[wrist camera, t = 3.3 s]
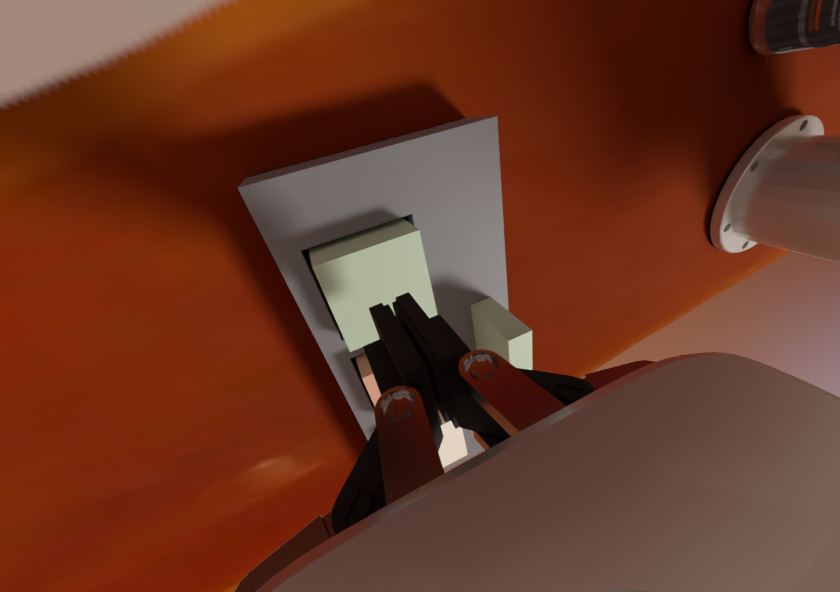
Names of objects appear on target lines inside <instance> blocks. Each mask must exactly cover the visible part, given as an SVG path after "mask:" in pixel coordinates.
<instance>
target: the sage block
mask: <svg viewBox="0 0 840 592" xmlns="http://www.w3.org/2000/svg"><path fill="white" fill-rule="evenodd" d="M308 250H309V255H310V260H311V264H312V268H313V270H314V273H315V275H316V277H317V279H318V282H319V284H320V286H321V288H322V290H323V293H324V295H325V297H326V299H327V302H328V304H329V306H330V308H331V311H332V313H333V315H334V317H335V319H336V322H337V324H338V326H339V328H340V331H341V333H342V335H343V337H344V339H345V342H346V344H347V346H348V348H349V351H350V352H352V351H354V350H357V349H359V348H361V347H363V346H365V345H367V344H370V343H372V342H374V341H377V340H379V339H380V338H379V335H378V333H377V330H376V327H375V324H374V322H373V319H372V316H371V314H370V311H369V308H370V307H372V306H375V305H377V304H380V303H382V304H383V305H384V306H385V305H387V304H389V306H390V308H391V309H392V311H393V312H394V309H393V305H392V302H395V301H396V297H397V296H400V295H402V294H405V293H408V292H409V293H410V294H411V296H412V297H413V298H414V299H415V301H416V302H417V303H418V304H419V306H420V307H421V308H422V309H423V311H424V312H425V313H426V315H427V316H428V317H429V318H431V317H434V316H436V315H438V314H437V310H436V305H435V300H434V296H433V291H432V287H431V282H430V277H429V273H428V268H427V263H426V259H425V254H424V250H423V245H422V240H421V236H420V231H419V229H417V228H416V227H415V226H413V225H412V224H410V223H409V222H408V221H406V220H405V219H404V218H402V217H401V218H398V219H395V220H392V221H389V222H386V223H383V224H380V225H377V226H374V227H371V228H368V229H365V230H362V231H359V232H356V233H353V234H350V235H347V236H344V237H341V238H338V239H335V240H332V241H329V242H325V243H322V244H319V245H316V246H313V247H310V248H308ZM394 314H395V312H394ZM395 316H396V315H395Z"/></svg>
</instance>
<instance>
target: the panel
mask: <svg viewBox="0 0 840 592" xmlns="http://www.w3.org/2000/svg"><path fill="white" fill-rule="evenodd" d="M238 190H239V192H240V194H241V196H242V198H243V200H244V202H245V204H246V206H247V208H248V210H249V212H250V214H251V215H252V217H253V219H254V221H255V223H256V225H257V227H258V229H259V231H260V233H261V235H262V237H263V239H264V241H265V243H266V244H267V246H268V248H269V250H270V252H271V254H272V256H273V258H274V260H275V262H276V264H277V266H278V268H279V270H280V272H281V274H282V275H283V277H284V279H285V281H286V283H287V285H288V287H289V289H290V291H291V293H292V295H293V297H294V299H295V301H296V303H297V304H298V306H299V308H300V310H301V312H302V314H303V316H304V318H305V320H306V322H307V324H308V326H309V328H310V330H311V332H312V334H313V335H314V337H315V339H316V341H317V343H318V345H319V347H320V349H321V351H322V353H323V355H324V357H325V359H326V361H327V363H328V364H329V366H330V368H331V370H332V372H333V374H334V376H335V378H336V380H337V382H338V384H339V386H340V388H341V390H342V392H343V394H344V395H345V397H346V399H347V401H348V403H349V405H350V407H351V409H352V411H353V413H354V415H355V417H356V419H357V421H358V423H359V424H360V426H361V428H362V430H363V432H364V434H365V436H366V438H367V440H369V439H370V437H371V435H372V433H373V431H374V429H375V428H376V422H375V414H374V411H375V406H374V404H373V402H372V400H371V397H370V395H369V393H368V391H367V388H366V386H365V384H364V382H363V379H362V377H361V373H360V370H359V368H358V366H357V364H356V361H355V359H354V357H355V356H358V355H360V354H363V353H365V351H364V348H363V347H361V348H359V349H357V350H354V351H352V352H350V351H349V348H348V346H347V344H346V342H345V339H344V337H343V335H342V333H341V331H340V328H339V326H338V324H337V322H336V319H335V317H334V315H333V313H332V311H331V308H330V306H329V304H328V302H327V299H326V297H325V295H324V293H323V290H322V288H321V286H320V284H319V282H318V279H317V277H316V275H315V273H314V270H313V268H312V264H311V260H310V258H309V256H308V254H307V252H306V249H307V248H310V247H313V246H316V245H319V244H322V243H325V242H329V241H332V240H335V239H338V238H341V237H344V236H347V235H350V234H353V233H356V232H359V231H362V230H365V229H368V228H371V227H374V226H377V225H380V224H383V223H386V222H389V221H392V220H395V219H398V218H401V217H402V218H404V219H405V220H406V221H408V222H409V223H410V224H412V225H413V226H415V227H416V228H417V229H419V231H420V236H421V240H422V245H423V250H424V254H425V259H426V263H427V268H428V273H429V277H430V282H431V287H432V291H433V296H434V300H435V305H436V310H437V314H439V315H441V316H442V317H443V319H444V320H445V321H446V322H447V323H448V324H449V325H450V327H451V328H452V329H453V330H454V331H455V332H456V334H457V335H458V336H459V337H460V338H461V339H462V340H463V342H464V343H465V344H466V345H467V346H468V347H469V349H470V350H471V351H474V350H479V349H483V350H490V351H493V352H495V353H497V354H499V355H500V356H501V357H503V358H504V359H505V360H506V361H508V362H509V363H510V364H512V365H513V366H514V367H516V368H521V369H528V370H532V330H531V329H530V328H529V327H527V326H526V325H525V324H524V323H522V322H521V321H520V320H519V319H517V318H516V317H515V316H514V315H512V314H511V313H510V312H509V311H508V293H507V276H506V259H505V242H504V224H503V207H502V190H501V173H500V155H499V138H498V121H497V116H492V117H476V118H465V119H461V120H458V121H454V122H450V123H447V124H443V125H439V126H436V127H432V128H428V129H425V130H421V131H417V132H413V133H410V134H406V135H402V136H399V137H395V138H391V139H388V140H384V141H380V142H377V143H373V144H369V145H366V146H362V147H358V148H354V149H351V150H347V151H343V152H340V153H336V154H332V155H329V156H325V157H321V158H318V159H314V160H310V161H307V162H303V163H299V164H295V165H292V166H288V167H284V168H281V169H277V170H273V171H270V172H266V173H262V174H259V175H255V176H251V177H248V178H245V179H244V180H243V181H242V183H241V184H240V185H239V186H238ZM462 430H463V434H464V439H465V444H466V448H467V453H468V455H466V456H464V457H462V458H461V459H459V460H457V461H455V462H453V463H451V464H449V465H447V466H446V467H444V468H443V469H444V470H446V469H448V468H450V467H452V466H454V465H456V464H458V463H459V462H461V461H463V460H465V459H467V458H469V457H471V456H473V455H474V454H476V453H478V452H480V451H482V450H484V448H483V447H482V446H481V445H480V444H479V443H478V442H477V440H476V439H475V438H474V437H473V435H472V433H471V430H467V429H463V428H462Z"/></svg>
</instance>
